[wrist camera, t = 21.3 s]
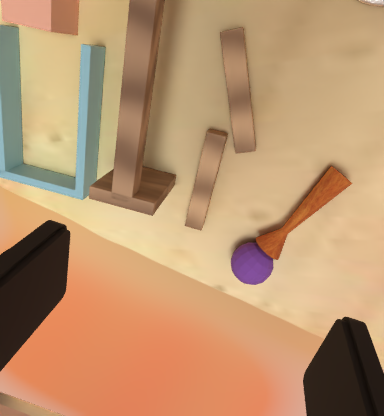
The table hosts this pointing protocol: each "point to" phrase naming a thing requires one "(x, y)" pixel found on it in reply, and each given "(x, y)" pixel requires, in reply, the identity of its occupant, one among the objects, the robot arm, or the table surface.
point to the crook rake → (136, 118)
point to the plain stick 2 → (238, 89)
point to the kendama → (283, 232)
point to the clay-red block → (43, 14)
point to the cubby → (87, 121)
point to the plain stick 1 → (205, 178)
